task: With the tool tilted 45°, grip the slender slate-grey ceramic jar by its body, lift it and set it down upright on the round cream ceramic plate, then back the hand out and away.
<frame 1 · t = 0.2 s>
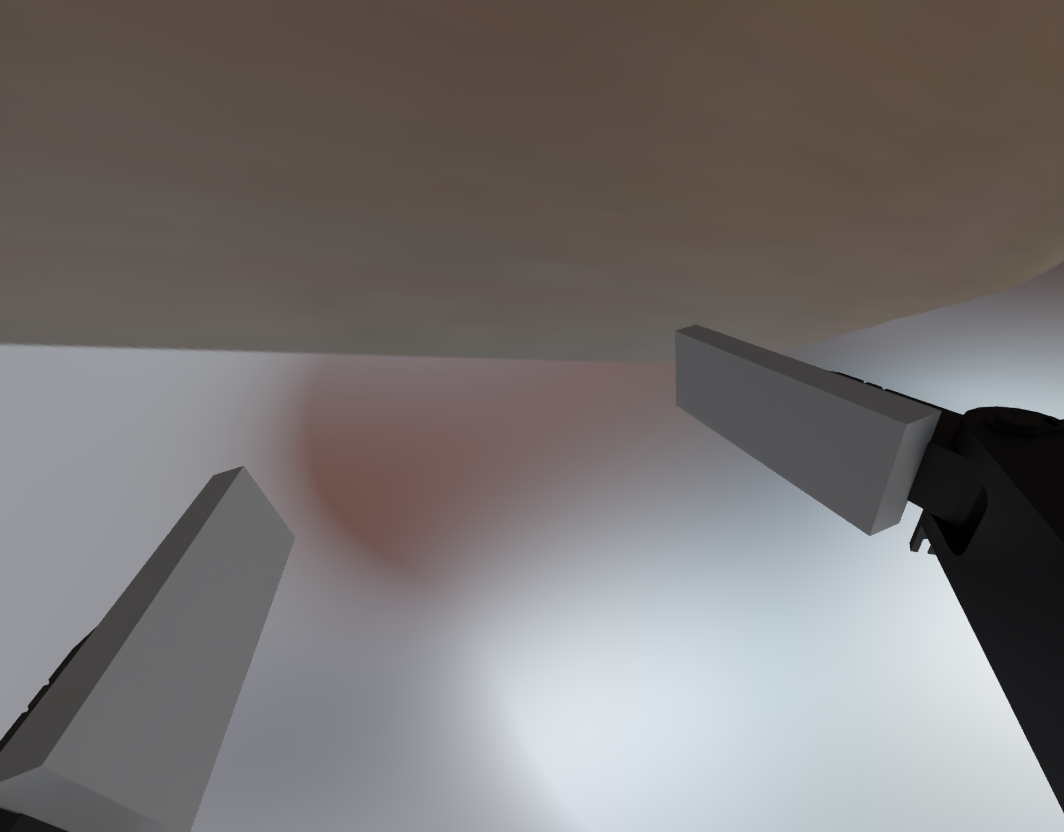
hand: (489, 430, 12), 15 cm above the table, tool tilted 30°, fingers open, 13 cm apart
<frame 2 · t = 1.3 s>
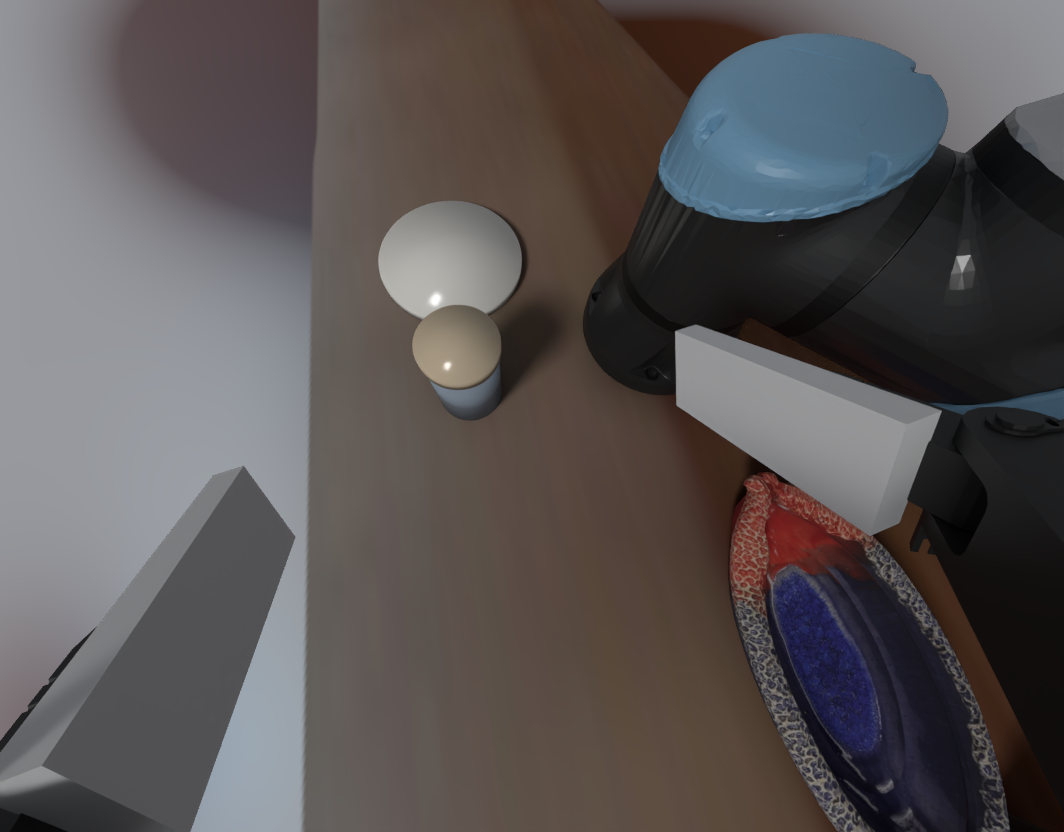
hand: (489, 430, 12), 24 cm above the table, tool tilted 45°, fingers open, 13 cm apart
dish: (817, 648, 33), on the table
jar: (471, 391, 38), on the table
plate: (452, 263, 42), on the table
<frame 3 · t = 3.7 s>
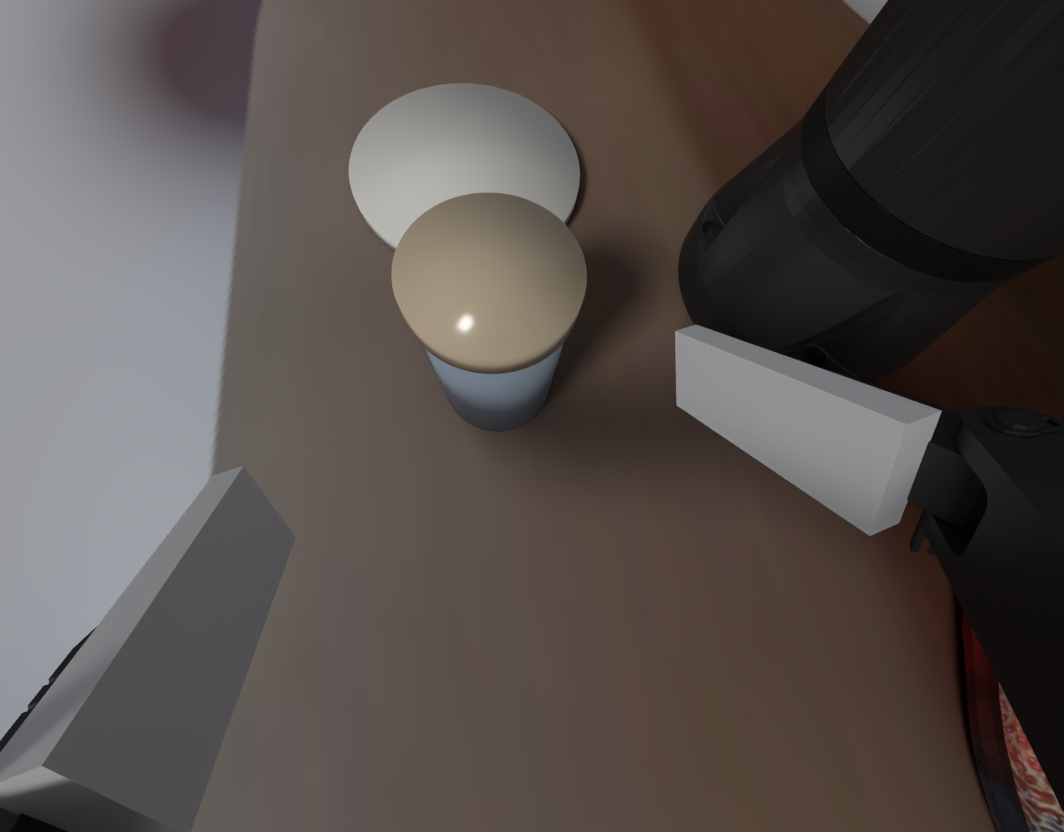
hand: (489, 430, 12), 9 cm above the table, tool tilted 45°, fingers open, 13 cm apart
jar: (498, 381, 22), on the table
plate: (468, 178, 26), on the table
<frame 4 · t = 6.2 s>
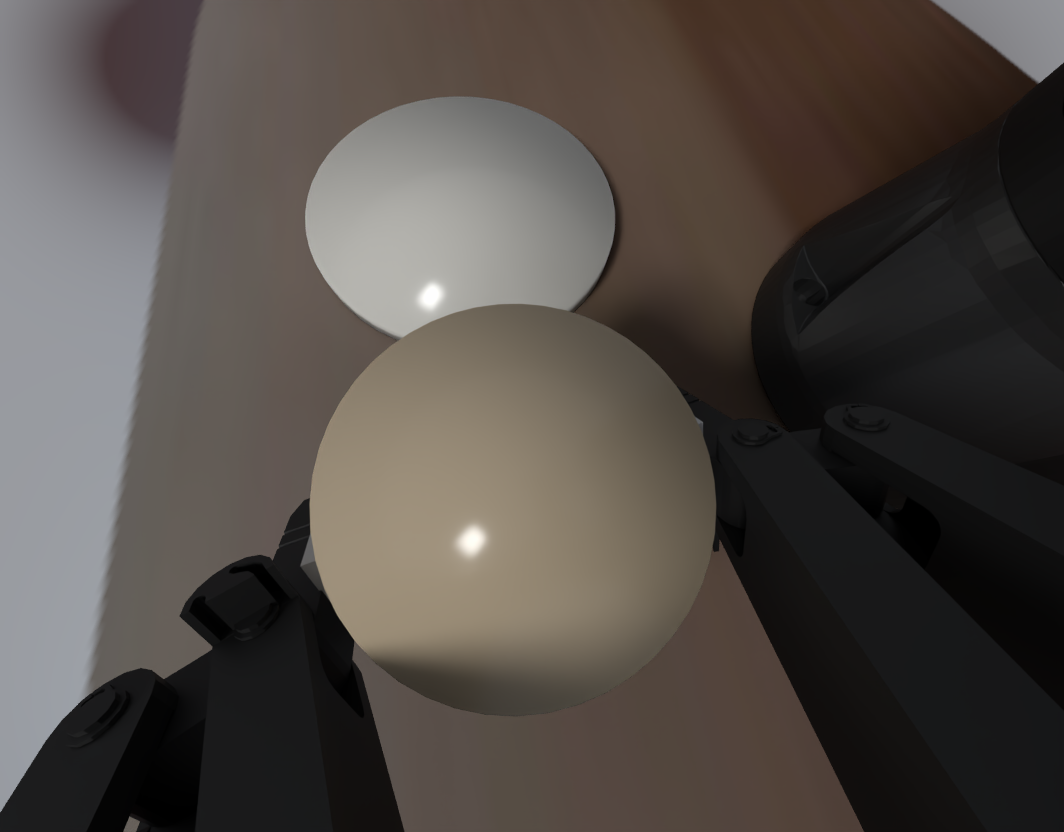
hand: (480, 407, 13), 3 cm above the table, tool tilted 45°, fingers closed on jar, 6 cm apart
jar: (512, 512, 16), on the table, touching gripper
plate: (466, 220, 20), on the table
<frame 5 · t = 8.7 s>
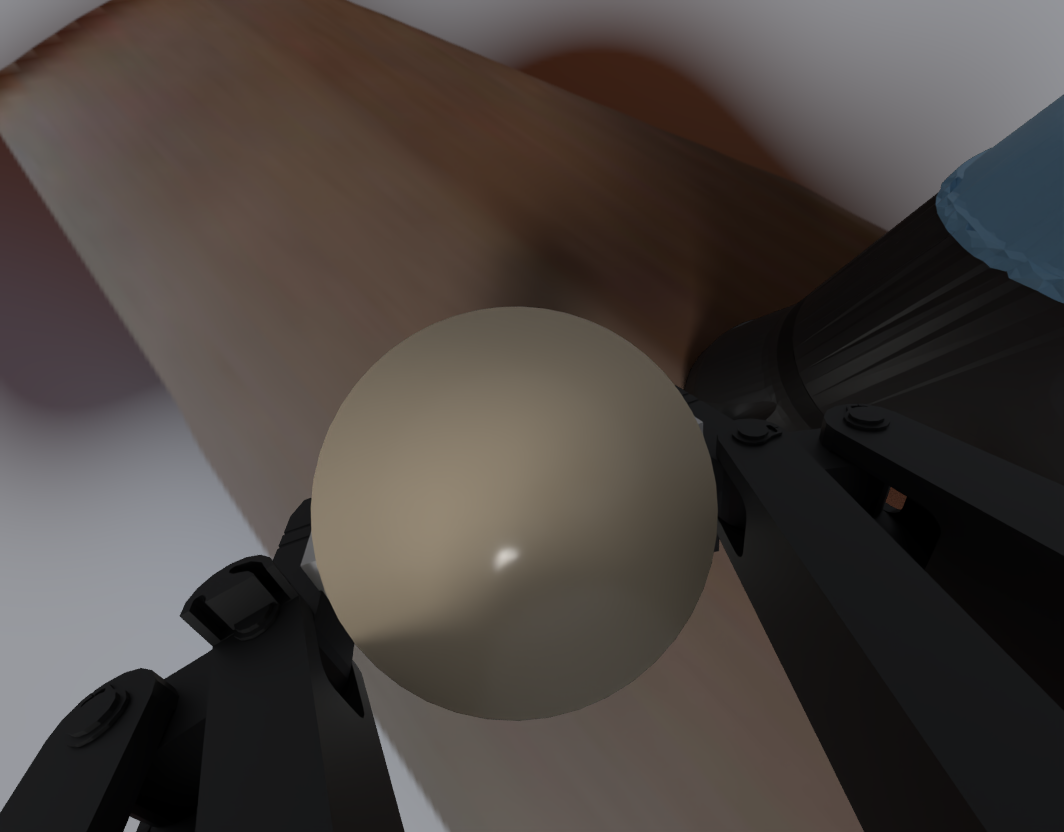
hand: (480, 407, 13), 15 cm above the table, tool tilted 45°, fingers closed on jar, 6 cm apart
jar: (513, 514, 16), point 12 cm above the table, touching gripper
when the fingers open (6 cm above the table, at t = 11.4 s): jar drops 1 cm, resting on plate.
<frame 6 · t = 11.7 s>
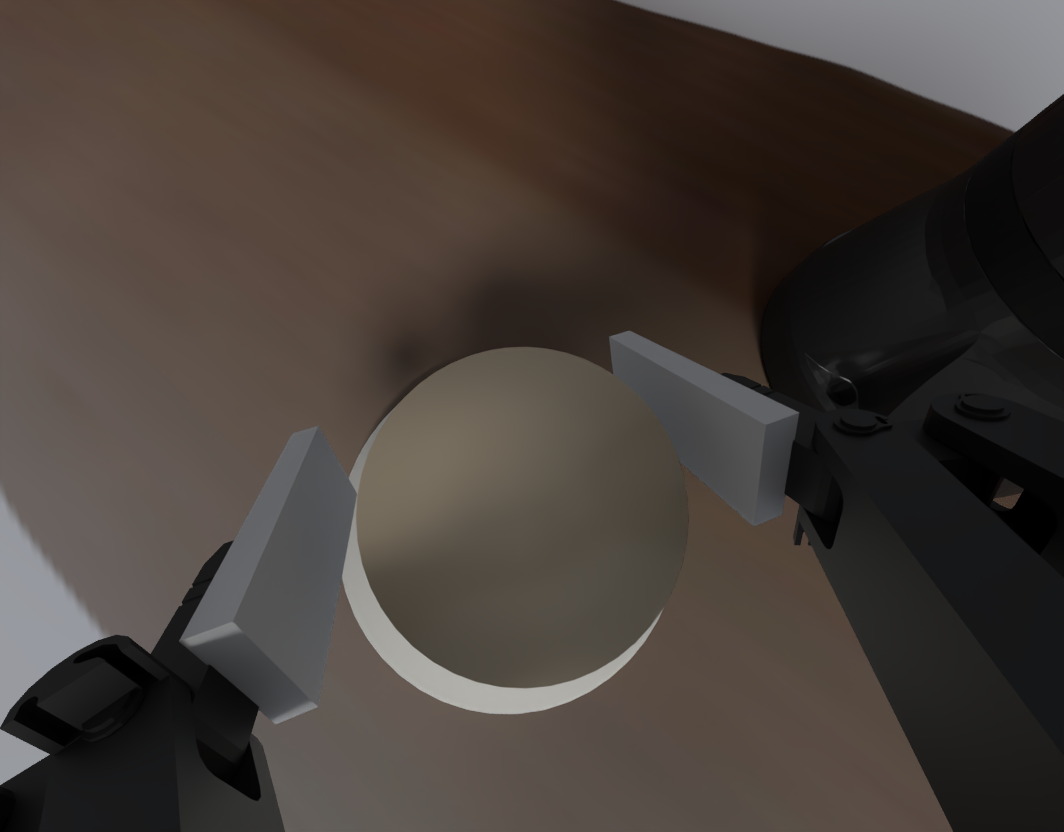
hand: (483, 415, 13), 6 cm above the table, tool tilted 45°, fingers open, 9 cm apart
jar: (514, 515, 17), point 1 cm above the table, touching plate
plate: (512, 515, 18), on the table
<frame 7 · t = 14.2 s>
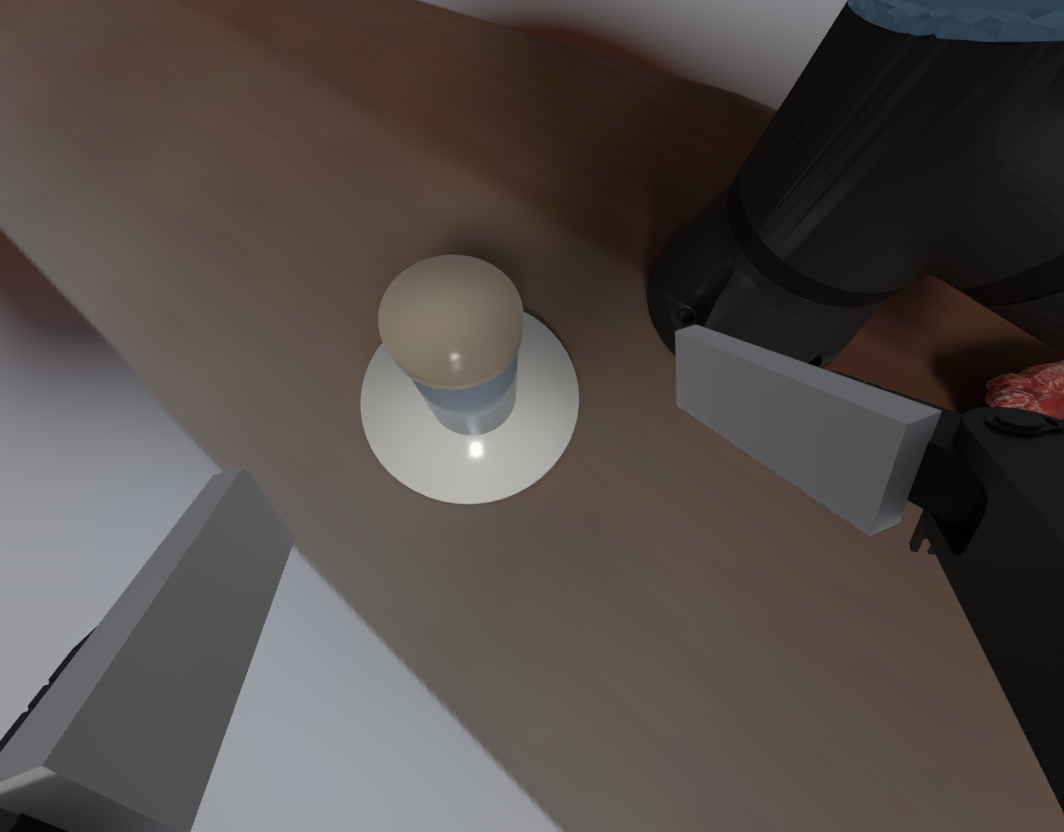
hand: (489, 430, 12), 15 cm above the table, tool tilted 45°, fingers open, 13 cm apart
jar: (472, 393, 27), point 1 cm above the table, touching plate
plate: (473, 397, 28), on the table
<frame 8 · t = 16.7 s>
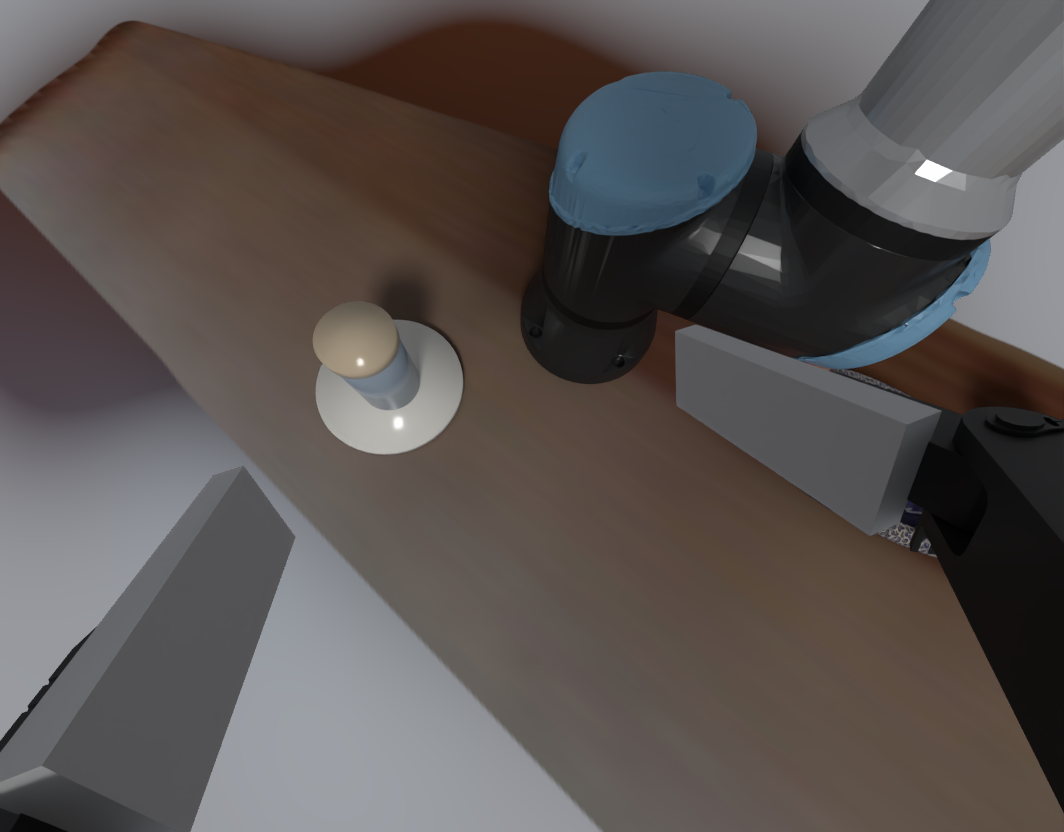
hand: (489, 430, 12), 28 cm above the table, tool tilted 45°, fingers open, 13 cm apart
dish: (846, 459, 42), on the table
jar: (390, 383, 40), point 1 cm above the table, touching plate
plate: (393, 386, 41), on the table
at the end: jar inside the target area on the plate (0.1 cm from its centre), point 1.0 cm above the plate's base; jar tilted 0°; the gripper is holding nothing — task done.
